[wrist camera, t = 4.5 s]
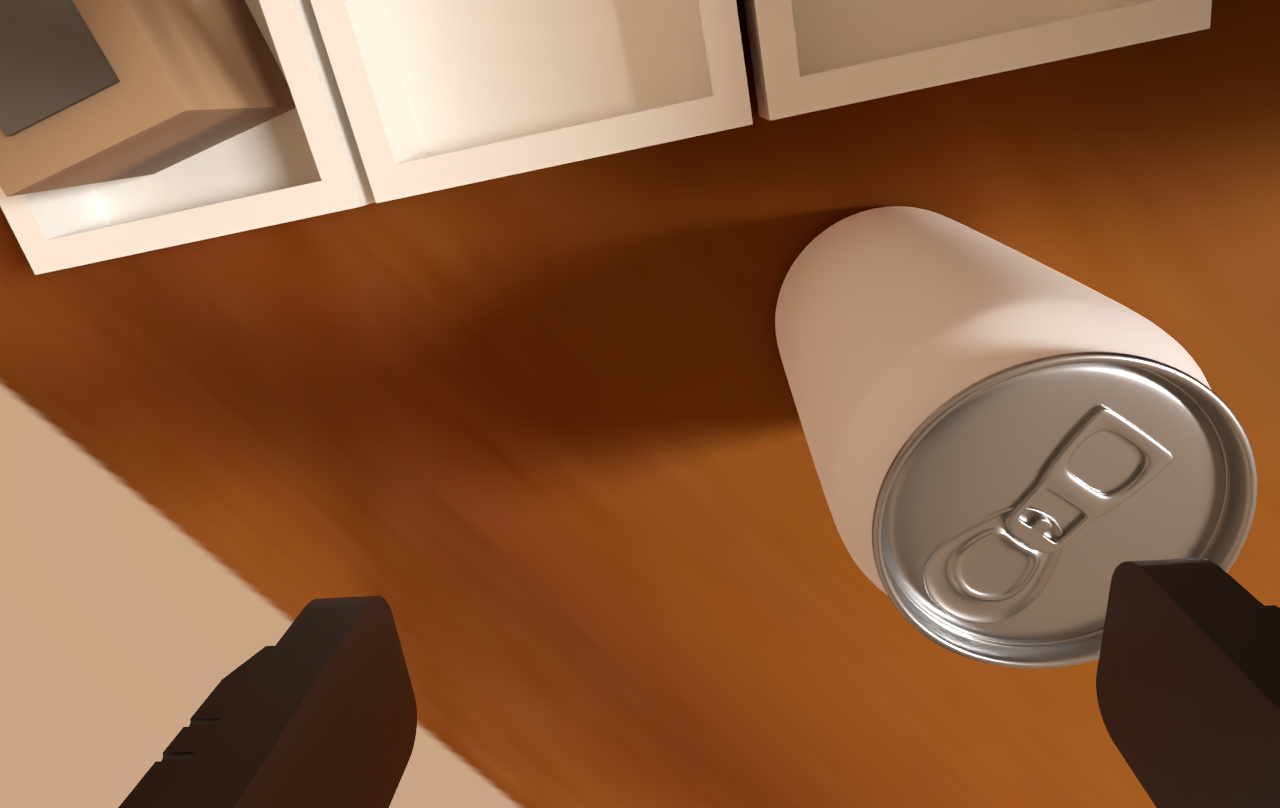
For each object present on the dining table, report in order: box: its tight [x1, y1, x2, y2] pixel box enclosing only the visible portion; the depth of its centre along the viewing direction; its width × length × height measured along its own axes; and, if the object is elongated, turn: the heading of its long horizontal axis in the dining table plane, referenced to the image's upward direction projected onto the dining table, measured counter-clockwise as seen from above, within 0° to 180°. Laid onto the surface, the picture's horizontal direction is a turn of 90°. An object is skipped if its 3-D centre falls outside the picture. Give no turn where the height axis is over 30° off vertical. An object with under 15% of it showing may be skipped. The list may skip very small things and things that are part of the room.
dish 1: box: [0, 0, 376, 275], centre depth 20 cm, size 10×10×3 cm
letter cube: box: [0, 0, 296, 197], centre depth 18 cm, size 5×5×5 cm
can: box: [775, 206, 1257, 669], centre depth 17 cm, size 6×6×12 cm
